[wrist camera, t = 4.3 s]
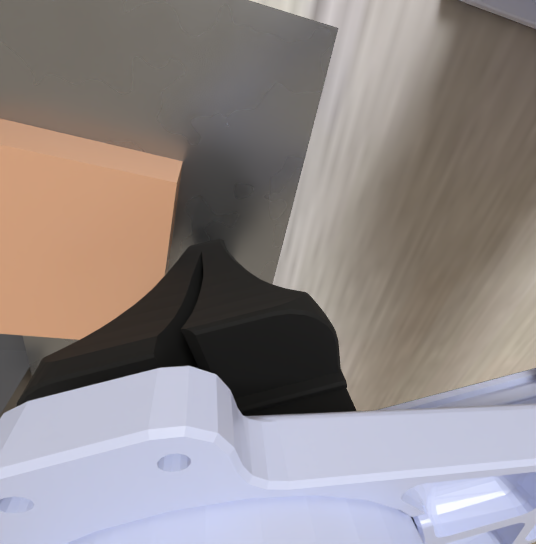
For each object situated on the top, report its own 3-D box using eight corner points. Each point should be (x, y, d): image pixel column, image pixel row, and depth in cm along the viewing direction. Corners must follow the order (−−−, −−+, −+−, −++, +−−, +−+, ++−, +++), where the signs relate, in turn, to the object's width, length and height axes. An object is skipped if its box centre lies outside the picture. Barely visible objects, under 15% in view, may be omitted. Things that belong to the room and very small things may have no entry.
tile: (182, 161, 11) (177, 182, 9) (163, 303, 13) (155, 345, 11) (-35, 110, 9) (-108, 121, 7) (-5, 284, 12) (-50, 329, 10)
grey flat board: (318, 34, 11) (338, 27, 9) (241, 360, 19) (245, 388, 17) (-23, -67, 9) (-79, -102, 7) (52, 355, 16) (34, 387, 15)
